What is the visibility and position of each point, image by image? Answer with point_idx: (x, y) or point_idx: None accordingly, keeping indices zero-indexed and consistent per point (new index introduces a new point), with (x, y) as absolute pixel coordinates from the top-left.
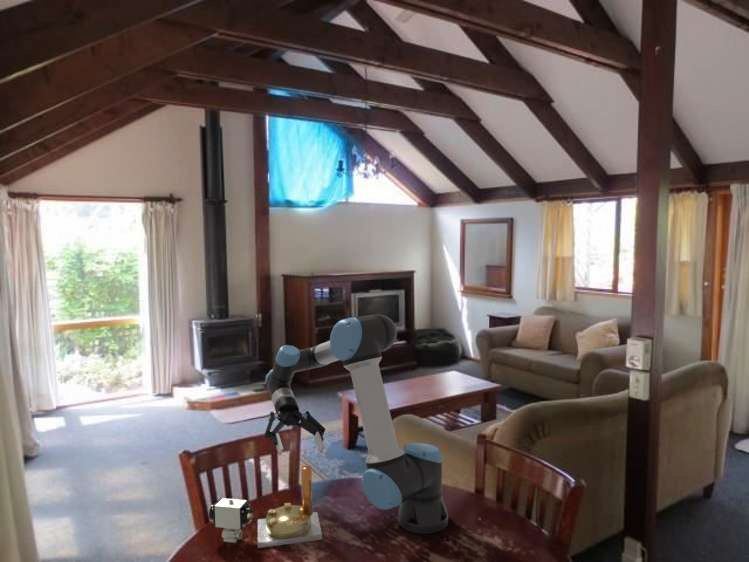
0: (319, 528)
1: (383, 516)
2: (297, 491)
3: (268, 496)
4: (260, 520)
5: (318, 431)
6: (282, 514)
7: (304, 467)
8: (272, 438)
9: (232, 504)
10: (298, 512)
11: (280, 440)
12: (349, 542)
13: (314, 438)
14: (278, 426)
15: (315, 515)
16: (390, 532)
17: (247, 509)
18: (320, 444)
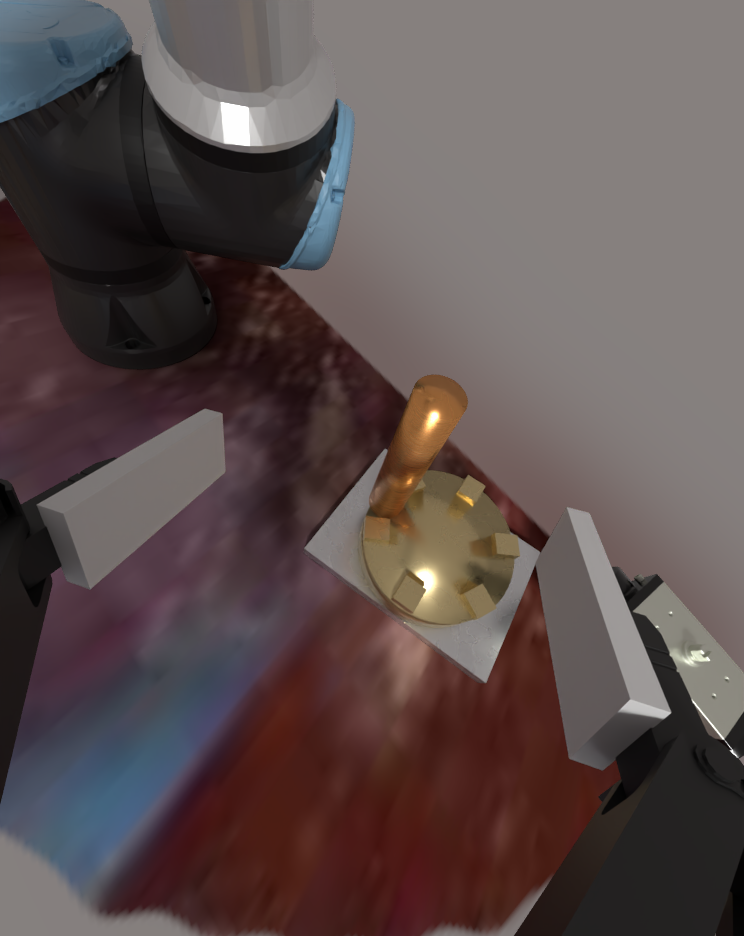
0: (370, 472)
1: (179, 401)
2: (174, 833)
3: (310, 922)
4: (481, 666)
5: (21, 516)
6: (450, 566)
7: (445, 405)
8: (680, 703)
9: (686, 635)
10: (402, 531)
11: (594, 584)
12: (344, 400)
13: (99, 577)
14: (637, 925)
15: (325, 535)
16: (245, 353)
17: (622, 576)
18: (198, 443)
